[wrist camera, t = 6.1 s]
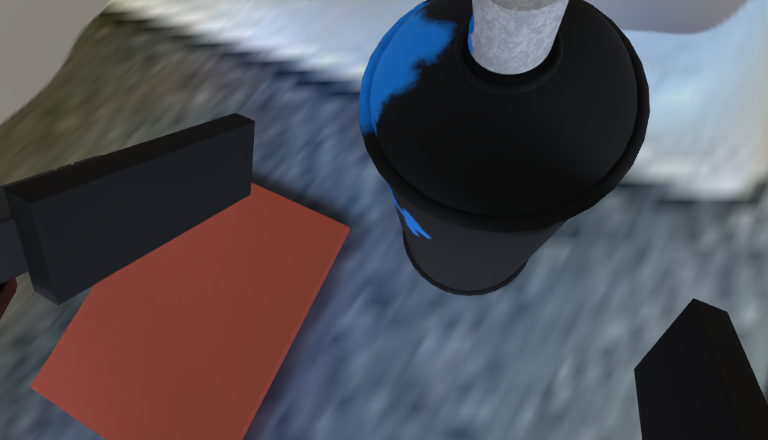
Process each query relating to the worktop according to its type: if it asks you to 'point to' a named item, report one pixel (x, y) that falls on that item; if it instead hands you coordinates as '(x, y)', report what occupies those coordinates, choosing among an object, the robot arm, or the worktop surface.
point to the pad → (194, 325)
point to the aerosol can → (499, 128)
